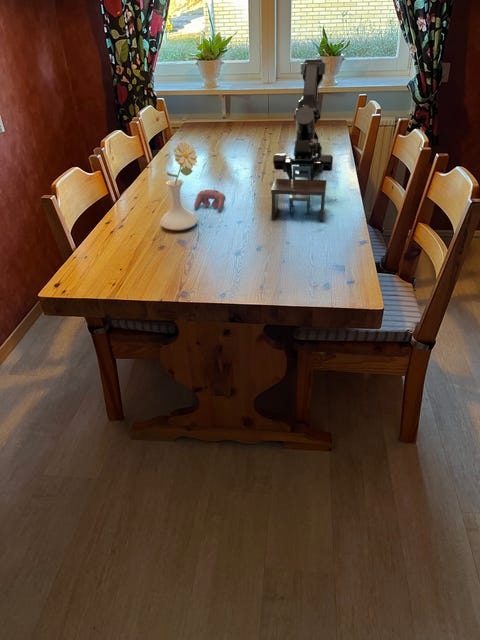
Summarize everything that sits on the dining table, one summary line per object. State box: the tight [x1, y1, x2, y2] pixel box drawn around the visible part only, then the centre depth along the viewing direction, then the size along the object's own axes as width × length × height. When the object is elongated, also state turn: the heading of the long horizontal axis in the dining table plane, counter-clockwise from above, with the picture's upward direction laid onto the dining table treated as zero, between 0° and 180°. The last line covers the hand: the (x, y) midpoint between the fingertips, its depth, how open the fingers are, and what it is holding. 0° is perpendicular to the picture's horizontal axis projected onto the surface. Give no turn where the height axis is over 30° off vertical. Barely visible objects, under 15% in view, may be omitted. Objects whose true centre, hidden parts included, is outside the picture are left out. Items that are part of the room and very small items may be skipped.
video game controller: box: [193, 189, 226, 213], centre depth 162 cm, size 10×5×7 cm, turn 71°
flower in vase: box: [159, 140, 198, 231], centre depth 146 cm, size 13×11×25 cm
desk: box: [270, 178, 328, 223], centre depth 154 cm, size 10×16×10 cm, turn 79°
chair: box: [288, 165, 312, 215], centre depth 157 cm, size 6×6×13 cm
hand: (300, 187), depth 158 cm, fingers closed on chair, 5 cm apart
